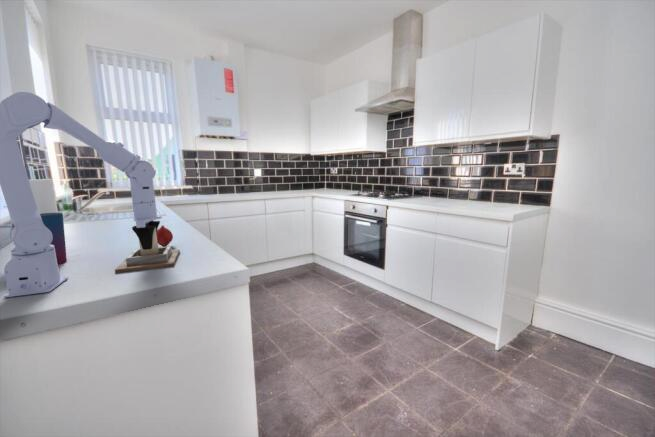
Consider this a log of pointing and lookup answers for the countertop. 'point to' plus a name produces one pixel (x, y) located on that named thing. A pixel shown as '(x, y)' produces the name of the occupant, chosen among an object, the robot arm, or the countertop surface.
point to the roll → (154, 246)
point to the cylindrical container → (44, 195)
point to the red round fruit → (164, 236)
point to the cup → (56, 234)
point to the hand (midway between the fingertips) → (149, 247)
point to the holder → (149, 260)
